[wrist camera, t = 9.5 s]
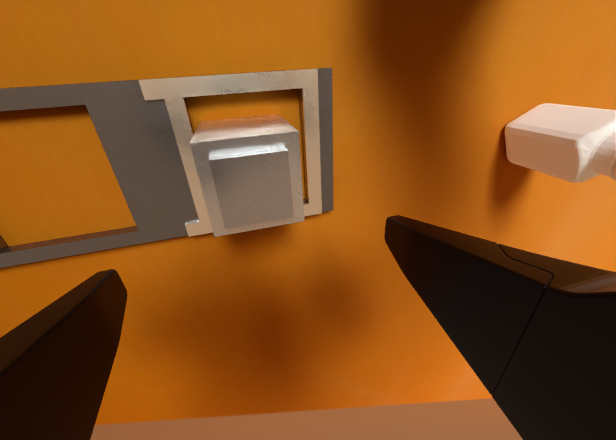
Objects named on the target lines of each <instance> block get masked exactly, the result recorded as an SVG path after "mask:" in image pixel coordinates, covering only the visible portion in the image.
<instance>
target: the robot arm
mask: <svg viewBox="0 0 616 440" xmlns="http://www.w3.org/2000/svg"><path fill="white" fill-rule="evenodd" d="M385 242H386V244H387V245H388V247H389V249H390V251H391V253H392V254H393V256H394V258H395V260H396V261H397V263H398V265H399V267H400V268H401V270H402V272H403V273H404V275H405V276H406V278H407V279H408V281H409V282H410V284H411V285H412V286H413V288H414V289H415V290H416V292H417V293H418V295H419V296H420V297H421V299H422V300H423V301H424V303H425V304H426V306H427V307H428V308H429V310H430V311H431V313H432V314H433V315H434V317H435V318H436V319H437V321H438V322H439V324H440V325H441V326H442V328H443V329H444V331H445V332H446V333H447V335H448V336H449V337H450V339H451V340H452V342H453V343H454V344H455V346H456V347H457V349H458V350H459V351H460V353H461V354H462V355H463V357H464V358H465V360H466V361H467V362H468V364H469V365H470V367H471V368H472V369H473V371H474V372H475V373H476V375H477V376H478V378H479V379H480V380H481V382H482V383H483V385H484V386H485V387H486V389H487V390H488V391H489V393H490V394H491V395H492V397H493V399H494V400H495V401H496V403H497V404H498V406H499V407H500V408H501V410H502V411H503V413H504V414H505V415H506V416H507V418H508V419H509V421H510V422H511V424H512V425H513V426H514V428H515V429H516V430H517V432H518V433H519V435H520V436H521V437H522V439H523V440H616V272H612V271H607V270H602V269H598V268H594V267H590V266H585V265H581V264H577V263H573V262H568V261H564V260H560V259H556V258H552V257H548V256H544V255H539V254H535V253H531V252H528V251H524V250H520V249H517V248H513V247H509V246H506V245H502V244H497V243H495V242H491V241H488V240H484V239H481V238H477V237H474V236H470V235H467V234H463V233H460V232H456V231H452V230H449V229H445V228H442V227H438V226H435V225H431V224H428V223H424V222H421V221H417V220H414V219H410V218H407V217H403V216H399V215H396V216H390V217H388V218H387V220H386V226H385ZM126 301H127V290H126V288H125V286H124V284H123V282H122V280H121V278H120V276H119V274H118V272H117V271H116V270H113V269H110V270H105V271H100V272H97V273H96V274H94V275H93V276H91V277H90V278H88V279H87V280H85V281H84V282H82V283H81V284H80V285H78V286H77V287H75V288H74V289H72V290H71V291H69V292H68V293H66V294H65V295H63V296H62V297H60V298H59V299H57V300H56V301H54V302H53V303H51V304H50V305H48V306H47V307H45V308H44V309H42V310H41V311H39V312H38V313H37V314H35V315H34V316H32V317H31V318H29V319H28V320H26V321H25V322H23V323H22V324H20V325H19V326H17V327H16V328H14V329H13V330H11V331H10V332H8V333H7V334H5V335H4V336H2V337H1V338H0V440H90V438H91V435H92V431H93V428H94V425H95V422H96V418H97V415H98V412H99V409H100V405H101V402H102V399H103V395H104V392H105V389H106V385H107V382H108V379H109V375H110V372H111V369H112V365H113V362H114V359H115V355H116V352H117V348H118V345H119V341H120V336H121V330H122V324H123V319H124V313H125V307H126Z"/></svg>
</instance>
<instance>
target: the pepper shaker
mask: <svg viewBox="0 0 616 440" xmlns="http://www.w3.org/2000/svg"><path fill="white" fill-rule="evenodd" d="M504 131H505V143H506V154H507V159H508V160H509V161H510V162H511V163H514V164H517V165H520V166H523V167H526V168H529V169H532V170H535V171H538V172H541V173H544V174H548V175H551V176H554V177H557V178H560V179H563V180H566V181H569V182H572V183H578V182H583V181H586V180H588V179H591V178H593V177H595V176H597V175H599V174H602V175H606V176H609V177H611V178H612V179H614V180H616V110H608V109H598V108H588V107H578V106H569V105H559V104H549V103H545V104H541V105H537V106H536V107H534V108H532V109H531V110H529V111H528V112H526V113H524V114H523V115H521V116H519V117H518V118H516V119H514V120H513V121H511V122H510V123H508V124H507V125H506V127H505V130H504Z"/></svg>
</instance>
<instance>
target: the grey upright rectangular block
mask: <svg viewBox="0 0 616 440" xmlns="http://www.w3.org/2000/svg"><path fill="white" fill-rule="evenodd" d="M190 147H191V151H192V155H193V158H194V162H195V166H196V170H197V173H198V177H199V181H200V185H201V188H202V192H203V196H204V200H205V203H206V207H207V211H208V215H209V218H210V222H211V226H212V230H213V233H214V237H217V236H223V235H228V234H234V233H240V232H245V231H251V230H257V229H262V228H268V227H273V226H279V225H285V224H290V223H296V222H302V221H305V220H304V205H303V190H302V176H301V161H300V146H299V131H298V130H296V129H295V128H294V127H293V126H292V125H291V124H289V123H288V122H287V121H286V120H285V119H283V118H282V117H281V116H280V115H279V114H274V115H263V116H253V117H242V118H232V119H221V120H211V121H201V122H200V123H199V125H198V127H197V129H196V131H195V133H194V135H193V137H192V139H191V141H190Z"/></svg>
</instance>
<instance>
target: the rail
mask: <svg viewBox="0 0 616 440" xmlns="http://www.w3.org/2000/svg"><path fill="white" fill-rule="evenodd" d="M298 88H299V97H300V113H301V129H302V145H303V161H304V177H305V193H306V199H303V205H304V216H310V215H316V214H322V212H326V211H332V210H333V128H332V68H317V69H301V70H285V71H270V72H254V73H238V74H222V75H207V76H191V77H175V78H159V79H144V80H128V81H112V82H96V83H81V84H65V85H49V86H33V87H18V88H2V89H0V111H11V110H24V109H37V108H49V107H62V106H75V105H86V108H87V110H88V112H89V115H90V117H91V119H92V122H93V124H94V126H95V129H96V131H97V133H98V136H99V138H100V141H101V143H102V145H103V148H104V150H105V152H106V155H107V157H108V159H109V162H110V164H111V166H112V169H113V171H114V174H115V176H116V178H117V181H118V183H119V185H120V188H121V190H122V192H123V195H124V197H125V199H126V202H127V204H128V206H129V209H130V211H131V214H132V216H133V218H134V221H135V223H136V225H137V226H134V227H128V228H122V229H116V230H109V231H103V232H97V233H91V234H85V235H78V236H72V237H66V238H60V239H54V240H47V241H41V242H35V243H29V244H23V245H16V246H10V247H8V246H7V245H6V243H5V242H4V241H3V239H2V238H1V236H0V268H3V267H9V266H14V265H20V264H26V263H32V262H37V261H43V260H49V259H55V258H61V257H66V256H72V255H78V254H84V253H89V252H95V251H101V250H107V249H112V248H118V247H124V246H130V245H136V244H141V243H147V242H153V241H159V240H164V239H170V238H176V237H182V236H187V235H188V236H189V237H190V236H195V235H201V234H207V233H213V230H212V226H211V222H210V218H209V215H208V211H207V207H206V203H205V200H204V196H203V192H202V188H201V185H200V181H199V177H198V173H197V170H196V166H195V162H194V158H193V155H192V151H191V147H190V141H191V139H192V137H193V132H192V128H191V124H190V120H189V117H188V113H187V109H186V105H185V101H184V97H195V96H208V95H221V94H233V93H246V92H259V91H272V90H285V89H298Z"/></svg>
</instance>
